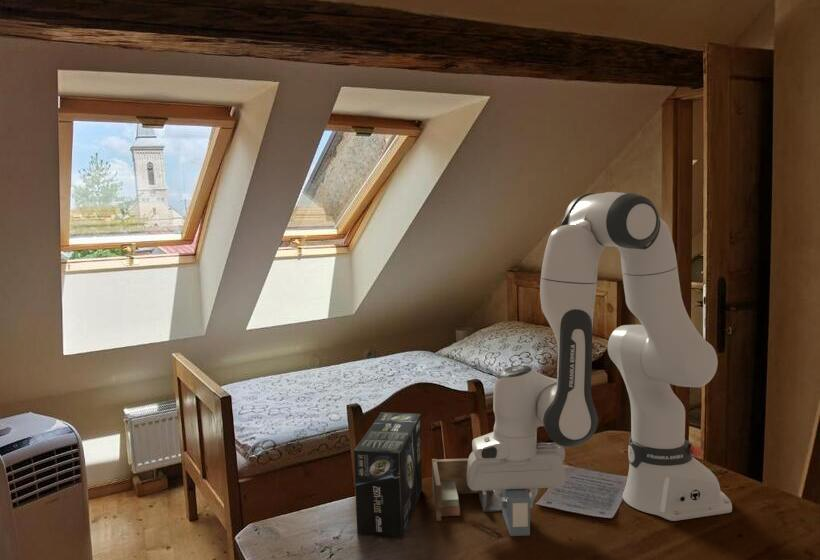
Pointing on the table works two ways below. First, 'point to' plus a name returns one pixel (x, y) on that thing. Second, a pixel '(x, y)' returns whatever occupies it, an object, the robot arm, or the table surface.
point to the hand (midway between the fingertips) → (515, 507)
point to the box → (388, 475)
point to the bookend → (488, 501)
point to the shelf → (449, 485)
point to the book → (517, 511)
